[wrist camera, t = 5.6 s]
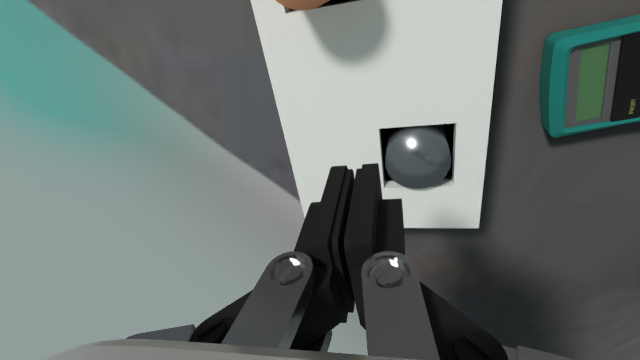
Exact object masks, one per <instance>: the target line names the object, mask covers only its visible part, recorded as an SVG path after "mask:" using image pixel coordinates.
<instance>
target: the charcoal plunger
mask: <svg viewBox="0 0 640 360" xmlns="http://www.w3.org/2000/svg"><path fill="white" fill-rule="evenodd" d="M385 165H386V170H387V172H388V174H389V176H390V177H391V178H392V179H393V180H394V181H395V182H396V183H398V184H399V185H401V186H404V187H407V188H412V189H422V188H427V187H430V186H433V185H435V184H437V183H438V182H440V181H441V180H442V179H443V178H444V177H445V176H446V175H447V173H448V171H449V169H450V166H451V155H450V151H449V146H448V142H447V138H446V134H445V130H444V126H443V124H438V125H424V126H410V127H396V128H388V136H387V148H386V159H385Z"/></svg>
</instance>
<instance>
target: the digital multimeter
mask: <svg viewBox="0 0 640 360" xmlns="http://www.w3.org/2000/svg"><path fill="white" fill-rule="evenodd" d="M637 32H638V33H637ZM624 35H625V36H624ZM540 103H541V117H542V125H543V127H544V128H545V129H546V131H547V132H548V133H549V134H550V135H551V136H552V137H555V138H558V137H563V136H568V135H573V134H578V133H583V132H588V131H593V130H598V129H603V128H608V127H613V126H617V125H623V124H628V123H634V122H640V14H639V15H635V16H631V17H626V18H622V19H617V20H612V21H607V22H603V23H598V24H593V25H588V26H583V27H579V28H574V29H569V30H564V31H559V32H555V33H552V34H550V35H548V37H547V38H546V39H545V43H544V50H543V58H542V67H541V77H540Z"/></svg>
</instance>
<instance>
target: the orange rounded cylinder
mask: <svg viewBox="0 0 640 360" xmlns="http://www.w3.org/2000/svg"><path fill="white" fill-rule="evenodd" d="M276 1H277V2H278V3H280V4H281V5H283V6H285V7H287V8H290V9H294V10H310V9H314V8H317V7H319V6H321V5H323V4H324V3H326V2H328V1H329V0H276Z"/></svg>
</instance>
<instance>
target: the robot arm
mask: <svg viewBox="0 0 640 360" xmlns="http://www.w3.org/2000/svg"><path fill="white" fill-rule="evenodd" d="M355 303H356V308H357V312H358V315H359V320H360V325H361V326H362V327H363V328H364V329H365V330H366V335H367V336H366V337H367V349H368V356H366V355H355V354H342V353H330V352H327V350H328V348H329V345H330V341H331V337H332V329H333V328H334V327H335V326H337V325H338V324H339V323H346V322H347V315H348V312H352V313H353V311H354V304H355ZM44 360H574V359H570V358H566V357H562V356H559V355H555V354H551V353H547V352H543V351H539V350H535V349H532V348H528V347H524V346H520V345H518V346H517V349H515V348H511V347H507V346H503V345H501V344H500V343H499V342H498V341H497V340H496V339H495V338H494V337H493V336H492V335H491V334H489V333H488V332H487V331H485V330H484V329H483V328H481V327H480V326H479V325H477V324H476V323H475V322H473V321H472V320H471V319H469V318H468V317H467V316H465V315H464V314H463V313H461V312H460V311H459V310H457V309H456V308H455V307H453V306H452V305H451V304H449V303H448V302H447V301H445V300H444V299H442V298H441V297H440V296H438V295H437V294H436V293H434V292H433V291H432V290H430V289H429V288H428V287H426V286H425V285H424V284H422V283H421V282H420V281H419V279H418V275H417V272H416V268H415V266H414V264H413V262H412V261H411V260H410V259H409V258H408V257H407V256H405V241H404V221H403V207H402V198H401V199H383V198H382V190H381V181H380V172H379V165H378V163H373V164H362V168H359V169H357V170H356V175H355V178H354V172H353V169H348V168H347V166H346V165H345V166H332V167H331V168H330V172H329V175H328V178H327V181H326V185H325V188H324V191H323V195H322V198H321V201H320V202H312V203H311V204H310V206H309V208H308V211H307V214H306V217H305V220H304V223H303V226H302V229H301V232H300V235H299V238H298V241H297V244H296V247H295V249H294V252H287V253H283V254H281V255H279V256H277V257H276V258H274V259H273V260H272V261H271V262H270V263H269V264H268V266H267V267H266V269H265V271H264V272H263V274H262V276H261V277H260V279H259V281H258V282H257V284H256V286H255V287H254V289H253V290H252V291H251V292H249V293H247V294H246V295H244V296H243V297H241V298H239V299H238V300H236V301H235V302H234V303H231V304H230V305H228V306H227V307H225V308H223V309H222V310H220V311H219V312H217V313H216V314H214V315H212V316H211V317H209V318H208V319H206V320H205V321H204V322H202V323H201V324H200V325H199V326H198V327H197V328H195V326H194V325H186V326H181V327H175V328H169V329H163V330H157V331H152V332H146V333H141V334H136V335H133V336H130V337H128V338H126V339H118V340H107V341H99V342H94V343H90V344H84V345H80V346H77V347H74V348H71V349H68V350H64V351H62V352H59V353H57V354H55V355H52V356H50V357H48V358H46V359H44Z"/></svg>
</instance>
